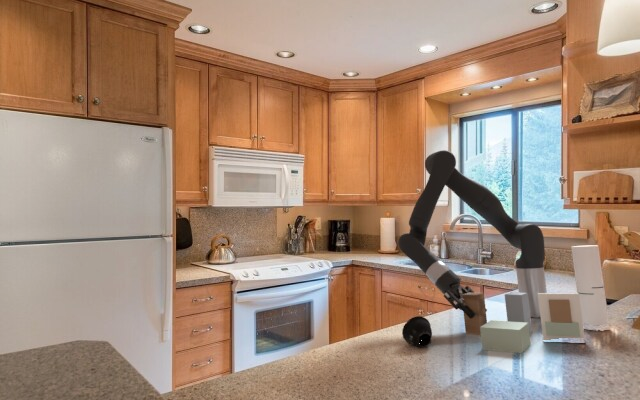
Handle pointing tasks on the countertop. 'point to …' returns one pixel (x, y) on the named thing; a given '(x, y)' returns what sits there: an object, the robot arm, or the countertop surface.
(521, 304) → the slate block
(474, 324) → the walnut block
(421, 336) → the small rounded object
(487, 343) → the sage base block
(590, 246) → the cylindrical container
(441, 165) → the robot arm
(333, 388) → the countertop surface
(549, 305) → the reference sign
